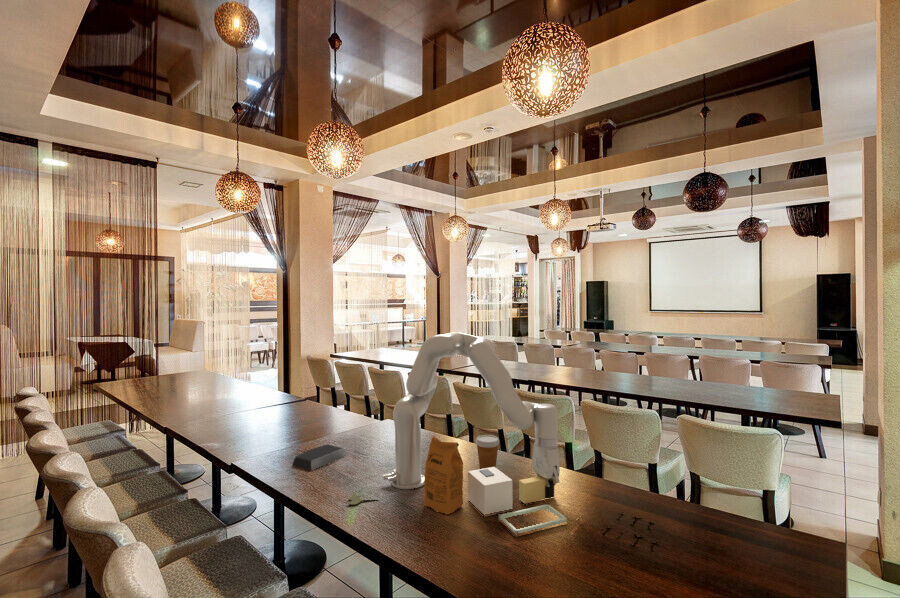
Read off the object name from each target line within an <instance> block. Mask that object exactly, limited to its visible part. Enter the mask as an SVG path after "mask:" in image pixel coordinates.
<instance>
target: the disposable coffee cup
mask: <svg viewBox="0 0 900 598" xmlns="http://www.w3.org/2000/svg"><path fill="white" fill-rule="evenodd" d="M475 444H476V448H477V457H478V465H479V469H480V468H481V469H484V468H489V467H495V468H497V459H498V458H497V457H498V452H499V451H498V449H499V444H500V440H499V438H498V436H496V435H491V434H484V435H478V436H477V437H476V440H475Z"/></svg>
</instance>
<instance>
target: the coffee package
mask: <svg viewBox="0 0 900 598" xmlns="http://www.w3.org/2000/svg"><path fill="white" fill-rule="evenodd" d="M459 445H460V444H459V443H458V442H454V441H453V442H452V441H441V440H440V439H438V437H436V436H435V435H434V436H432V437H431V440H430V444H429V447H428V452H427V457H426V461H425V470H424V471H425V472H424V477H425V479H424V485H423V490H424V506H425V507H426V506H428V507H427V508H430V507H431V508H430V509H432V510H433V509H434V510H435V511H438V512H442V513H441V514H443V513H445V515H447V514H449V515H451V514H453V513H454V512H455V511H456V510H458V509H459V508H461V507H462V506H463V505H464V492H463V486H464V462H463V458H462V456H461V453H460V450H459ZM434 510H433V511H434ZM435 511H434V512H435ZM438 512H437V513H438ZM450 513H451V514H450Z"/></svg>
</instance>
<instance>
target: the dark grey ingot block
mask: <svg viewBox="0 0 900 598" xmlns="http://www.w3.org/2000/svg"><path fill="white" fill-rule="evenodd" d="M346 455H347V452H346V450H345V448H343V447H341V446H340V447H339V446H334V445H330V444H324V445H321V446H317V447H315V448H311V449H309V450H306V451H304V452H301V453H300V454H298V455H296V456H295V458H294V459H293V462H292V466H294V465H295V467H298V468H301V467H302V469H305V470H308V469H309V471H315V470H317V469H316V468H318V469H320V468H322V467H321V466H323V467H325V466H327V465H326V464H328V463H330V464H332V463H334V462H333V461H335V460H337V461H339V460H341V459H343V458H345V457H347V456H346ZM344 456H345V457H344ZM342 457H343V458H342ZM340 458H341V459H340ZM338 459H339V460H338ZM331 462H332V463H331ZM335 462H336V461H335ZM324 465H325V466H324ZM328 465H329V464H328ZM319 467H320V468H319ZM314 469H315V470H314Z"/></svg>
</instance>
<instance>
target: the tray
mask: <svg viewBox="0 0 900 598" xmlns="http://www.w3.org/2000/svg"><path fill="white" fill-rule="evenodd" d="M543 509H545V510H546V509H548V512H552V513H554V515H557V516H558V517H559V518H560V519H559V518H558V519H557V520H555V519H554V520H553V521H549V522H545V523H540V524H536V525H532V526H528V527H524V528H520V529H516V528H515V527H514V526H513V525H512V524H511V523H509V522H508V521H507V520H506V519H505V518H508V517H512V516H517V515H522V514H526V513H530V512H535V511H539V510H543ZM549 510H550V511H549ZM545 512H546V511H545ZM526 515H527V514H526ZM499 519H500V520H502V521H503V522H504V523H505V524H506V525H507V526H508V527H509V528H510V529H511V530H512V531H513V532H514V533H515V534H518V533H523V532H527V531H531V530H535V529H539V528H544V527H548V526H552V525H556V524H560V523H563V522H567V521H568V517H566V515H563V514H562V513H561V512H559V511H558V510H557V509H555V508H554V507H553V506H551V505H550V504H548V503H546V504H542V505H536V506H533V507H529V508H524V509H519V510H515V511H512V512H507V513H503V514H498V520H499Z"/></svg>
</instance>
